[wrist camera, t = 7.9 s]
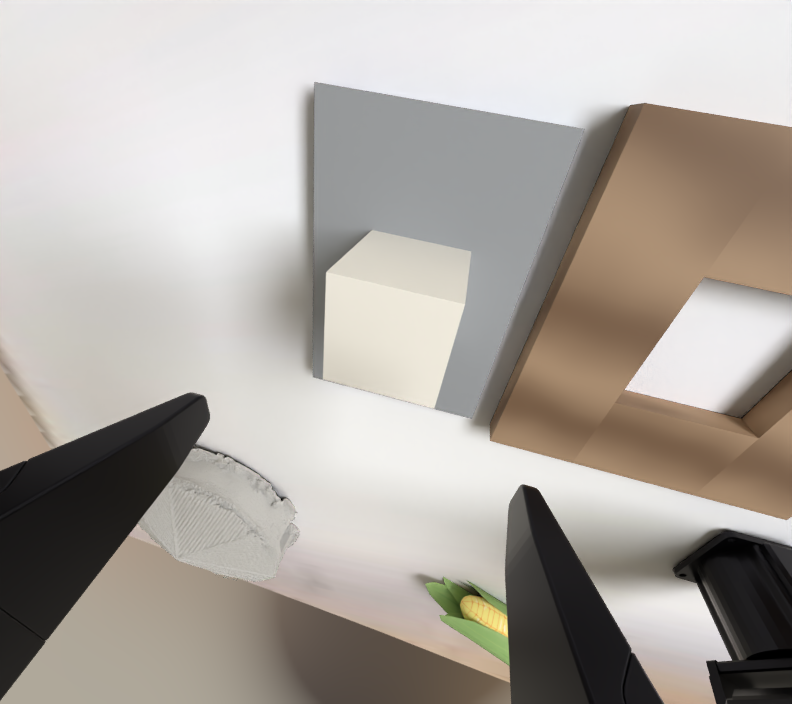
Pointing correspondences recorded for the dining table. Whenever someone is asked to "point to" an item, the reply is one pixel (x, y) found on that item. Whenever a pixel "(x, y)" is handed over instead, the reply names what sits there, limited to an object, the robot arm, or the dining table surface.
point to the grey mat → (437, 205)
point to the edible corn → (474, 616)
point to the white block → (394, 316)
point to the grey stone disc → (222, 518)
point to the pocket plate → (661, 310)
